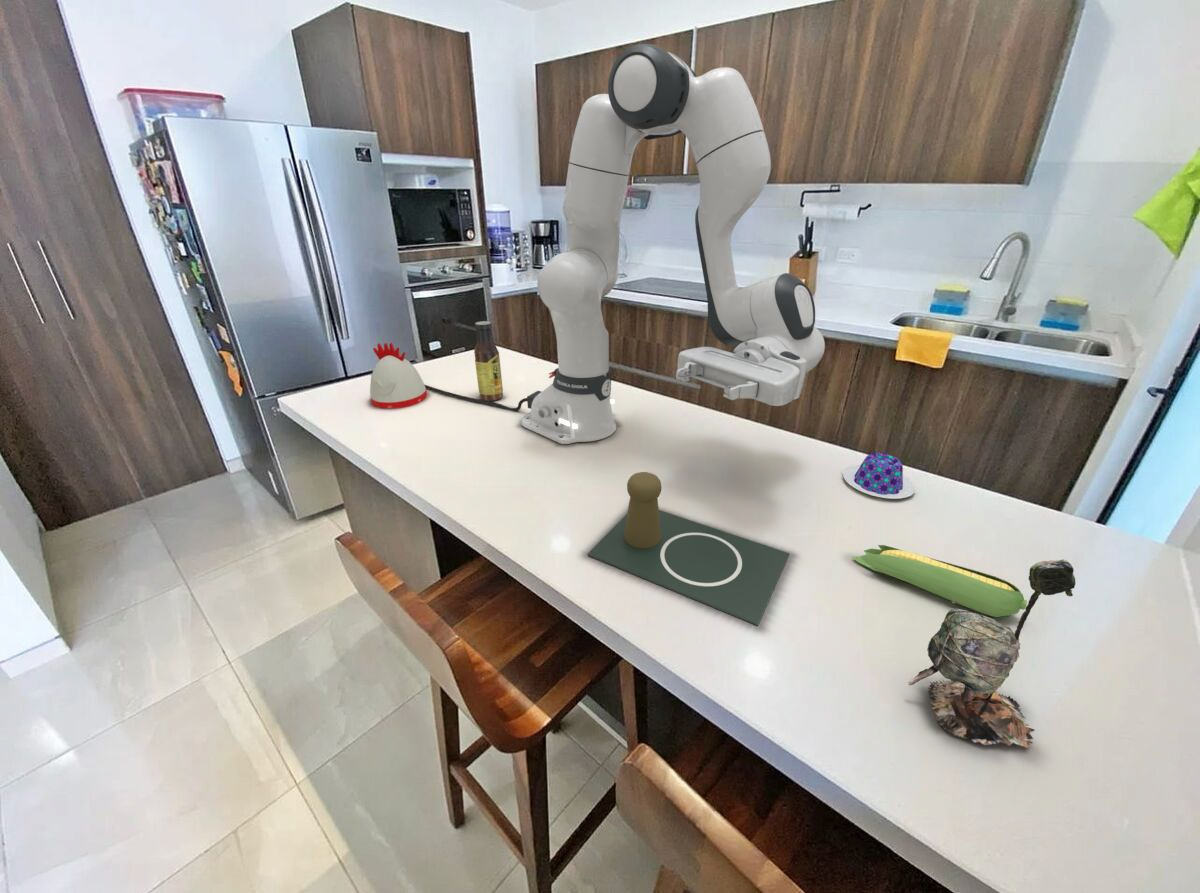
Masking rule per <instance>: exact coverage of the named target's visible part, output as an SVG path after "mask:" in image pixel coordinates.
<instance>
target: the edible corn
mask: <svg viewBox="0 0 1200 893" xmlns="http://www.w3.org/2000/svg"><path fill="white" fill-rule="evenodd" d="M877 546H878V549H877V548H868V549H865V550H863V552H864V554H862V555H859V556H851V558H852V559H853V560H854V561H856V562H857V563H859V564H861V565H863V566H864V567H867V568H868V569H871V570H873V571H875V572H876V573H881V574H882V575H886V576H889V577H891V578H894V579H897V580H899V581H901V582H905V583H907V584H910V585H912V586H913V587H916V588H918V589H921V590H923V591H926V592H928V593H930V594H933V595H936V596H938V597H940V598H942V599H944V600H947V601H949V602H952V601H956V602H955V603H954V604H956V605H958V606H961V607H964V608H967V609H969V610H972V611H974V612H977V613H979V614H981V615H984V616H987V617H988V616H989V617H990V618H991V617H992V618H1005V617H1010V616H1012V615H1013V616H1014V615H1016V614H1018V613H1019V612H1020V611H1021V610H1022V611H1025V610H1026V606H1027V605H1028V600H1027V599H1025V598H1024V594H1023V593H1022V592H1021V590H1020V589H1019V588H1018V587H1017V586H1016V585H1015V584H1012V583H1011V582H1009V581H1007V580H1005V579H1002V578H1000V577H998V576H994V575H991V574H987V573H984V572H982V571H978V570H975V569H971V568H967V567H964V566H960V565H957V564H953V563H949V562H947V561H944V560H943V561H942V560H939V559H935V558H931V557H929V556H924V555H921V554H917V553H914V552H911V551H906V550H902V549H899V548H896V547H892V546H889V545H885V544H877Z"/></svg>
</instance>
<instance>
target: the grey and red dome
mask: <svg viewBox="0 0 1200 893" xmlns="http://www.w3.org/2000/svg"><path fill="white" fill-rule="evenodd" d="M393 344H394V343H393V342H391V343H389V344H388V343H387V342H385V343H383V346H382V345H381V343H377V344H376V345H377V346H376V347H377V348H376V347H373V348H372V350H373V353H374V354H375V355H376V357H377V358H378V359H379V360H378V362H377V363H376V365H375V366H374V368H373V370H372V373H371V377H370V384H369V394H370V401H371V404H372V405H373V406H374V407H377V408H379V409H400V408H406V407H410V406H414V405H417V404H419V403H421V402H423V401H424V400H426V398H427V396H428V394H427V388H425V385H426V384H425V383H424V380H423V379H422V377H421V375H420V373H419V372H418V370H417V368H416V367H415V366H414V365H413V364H412V363H411V362H410V361H409V360H407V358H405V356H406V351H404V352H402V353H401V354H400V347H398V346H397V347H396V348H395V347H394V345H393ZM388 345H389V346H388Z"/></svg>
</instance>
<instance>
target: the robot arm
mask: <svg viewBox="0 0 1200 893" xmlns="http://www.w3.org/2000/svg"><path fill="white" fill-rule="evenodd" d="M608 76H609V77H608V82H607V93H599V94H595V95H593V96H590V97H589V98H587V99H586V100H585V102H584V103H583V104H582V107H581V109H580V113H579V115H578V118H577V121H576V125H575V129H574V133H573V137H572V141H571V148H570V153H569V159H568V166H567V174H566V182H565V189H564V197H563V204H562V212H563V215H564V218H565V223H566V235H567V238H566V239H567V242H566V243H567V246H566V250H565V251H563V252H560V253H557V254H555V255H554V256H553V257H551V258H550V259H549V260H548V261H547V262H546V264H545V265H544V266H543V267H542V268H541V270H540V272H539V273H538V276H537V284H536V285H537V292H538V296H539V297H540V299H541V301H542V303H543V304H544V305H545V306H546V307H547V308H548V311H549V313H550V317H551V320H552V323H553V324H552V325H553V328H554V332H555V337H556V348H557V350H556V351H557V361H558V362H557V366H558V367H556V368H555V369H554V370H553V371H551V372H549V373H548V375H549V376H548V378H549V379H552V378H553V377H554V378H553V381H552V383H551V384H550V385H549V386H547V387H546V388H544V389H543V390H542V391H541V390H536V391H534V392H532V393H531V394H529V395H528V396H526V397H524V398H522V399H520V400H519V402H518V405H517V406H516V407H509V406H507V405H504V404H501V403H499V402H494V401H485V400H482V399H480V398H474V397H470V396H465V395H461V394H457V393H452V392H449V391H445V390H442V389H439V388H436V387H434V386H430V385H427V384H424V385H425V388H426V390H431V391H433V392H436V393H440V394H443V395H447V396H450V397H452V398H453V397H454V398H457V399H461V400H466V401H470V402H474V403H479V404H484V405H490V406H493V407H498V408H501V409H504V410H507V411H511V412H518V411H520V410H521V408H522V405H523V403H525V402H527V403H526V404H527V409H530V412H529V413H527V414H526V415H525V416H524V417H523V418H522V420H521V427H523V428H525V429H528V430H529V431H531V432H534V433H536V434H539V435H540V436H543V437H545V438H546V439H550V440H552V441H554V442H555V443H558V444H561V445H569V444H574V443H581V442H583V443H584V442H585V443H586V442H595V441H599V440H603V439H606V438H608V437H610V436H612V435H613V434H614V433H615V432H616V430H617V424H616V421H615V418H614V412H613V408H612V405H613V404H615V399H611V393H612V392H611V391H612V370H611V367H610V335H609V331H608V329H607V328H606V326H605V325H606V324H605V321H604V317H603V312H602V299H603V298H604V297H606V296H607V295H609V293H611V291H612V290H613V289H614V287H615V285H616V283H617V281H618V278H619V276H620V275H619V274H620V266H619V257H620V256H619V254H620V231H621V222H622V216H623V209H624V204H625V198H626V193H627V189H628V188H627V187H628V183H629V179H630V178H629V177H630V172H631V166H632V161H633V157H634V153H635V150H636V147H637V145H638V144H639V142H640V141H641V140H642V139H645V140H647V141H649V140H656V139H662V138H668V137H673V136H677V135H680V134H681V133H683V134H684V136H685V137H686V139H687V141H688V143H689V146H690V148H691V153H692V154H693V158H694V162H695V166H696V169H697V172H698V180H699V203H698V205H697V208H696V210H695V215H694V216H695V217H694V224H695V233H696V234H695V235H696V240H697V247H698V252H699V258H700V265H701V269H702V275H703V280H704V287H705V293H706V300H707V324H708V328H709V330H710V332H711V335H713V337H715V339H717V341H719V342H720V343H722V344H723V345H725V346H727V347H730V348H734V349H733V351H732V352H731V351H727V350H724V349H721V348H717V347H714V346H700V347H693V348H689V349H684V350H681V351H680V352H679V353H678V357H677V364H676V365H677V368H676V369H677V370H676V372H675V380H676V381H678V382H681V383H686V382H689V381H691V378H693V379H695V380H698V381H701V382H704V383H706V384H710V385H712V386H716V387H718V388H721V389H723V395H722V396H723V398H725V399H728V400H730V401H735V400H737V399H752V400H755V401H758V402H760V403H763V404H766V405H769V406H773V407H781V406H785V405H787V404H789V403H791V402H792V401H794V400H797V399H799V398H800V397H801V394H802V390H803V387H804V384H805V379H806V374H807V373H809V372H810V371H812V370H813V369H814V368H816V366H817V365H818V364H819V363H820V361H821V360H822V358H823V357H824V354H825V351H826V350H825V349H826V342H825V339H824V336H823V334H822V333H821V331H820V330H819V329H818V328H817V327H816V326H815V324H816V305H815V300H814V297H813V294H812V291H811V290H810V288H809V287H808V286H807V285H806V283H805V282H804V281H802V279H801V278H799V277H797V276H796V275H794V274H792V273H788V272H785V273H782V274H779V275H775V276H772V277H768V278H765V279H762V280H760V281H759V282H755V283H752V284H750V285H746V286H743V287H739V286H738V284H737V280H736V272H735V266H734V261H733V254H732V248H731V247H732V246H731V241H732V240H731V239H732V234H733V231H734V229H735V228H736V226H737V224H738V222H739V221H740V219H741V218H742V217H743V215H744V214H746V212H747V211H748V210H749V209H750V208H751V207H752V206H753V204H754V203H756V201H757V200H758V199H759V198H760V196H761V194H762V193H763V191H764V189H765V188H766V185H767V183H768V180H769V179H770V178H769V177H770V175H771V170H772V159H771V152H770V147H769V144H768V140H767V136H766V133H765V129H764V126H763V123H762V119H761V115H760V113H759V110H758V108H757V105H756V102H755V100H754V97H753V95H752V93H751V91H750V89H749V87H748V85H747V83H746V81H745V79H744V76H743V75H742V74H741V73H740V72H739V71H738V70H737V69H735V68H733V67H729V66H725V67H717V68H714V69H711V70H708V71H707V72H705V73H703V74H702V75H699V76H697V74H696V73H695V71H694V70H693V69H692V67H690V66H689V65H688V64H687V63H686V62H685V61H684V60H683V59H681V58H680V57H679V55H676V54H675V53H673V52H670V51H667V50H665V49H664V48H662V47H661V46H658V45H656V44H652V43H639V44H634V45H632V46H630V47H628V48H626V49H624V50H623V52H621V53H620V55H618V57H617V58H616V59H615V61H614V63H613V65H612V67H611V70H610V72H609V75H608Z"/></svg>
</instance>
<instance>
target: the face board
mask: <svg viewBox="0 0 1200 893" xmlns="http://www.w3.org/2000/svg"><path fill="white" fill-rule="evenodd" d="M626 518H627V513H626V514H625V515H624V516H623V517H622V518H621V519H620V520H619V521H618V522H617V523H616V524H615V525H613V527H612V528H611V529H610V530H609V531H608V532H607V533H606V534H605V535H604V536H603V537H602V538H601V540H599V541H598V542H597V544H596V545H595V546H594V547H593V548H592V549H590V551H589V552H588V553H587V556H588V557H590V558H593V559H595V560H597V561H600V562H603V563H604V564H607V565H609V566H612V567H614V568H617V569H619V570H621V571H623V572H627V573H628V574H631V575H634V576H636V577H638V578H641V579H643V580H645V581H648V582H651V583H653V584H656V585H658V586H659V587H663V588H665V589H668V590H670V591H673V592H674V593H677V594H679V595H682V596H685V597H687V598H689V599H692V600H694V601H697V602H699V603H701V604H704V605H705V606H706V605H707V606H708V607H711V608H713V609H715V610H718V611H720V612H723V613H726V614H728V615H731V616H733V617H735V618H737V619H741V620H742V621H744V622H747V623H749V624H752V625H754V626H757V627H758V626H759V624H760V622H761V620H762V618H763V615H764V612H765V611H766V608H767V606H768V604H769V601H770V599H771V597H772V595H773V592H774V590H775V588H776V586H777V584H778V581H779V579H780V576H781V574H782V572H783V570H784V568H785V565H786V563H787V561H788V558H789V556H790V552H787V551H784V550H780V549H777V548H775V547H772V546H768V545H766V544H763V543H760V542H757V541H754V540H751V539H748V538H744V537H742V536H739V535H736V534H733V533H730V532H728V531H724V530H721V529H717V528H715V527H712V526H709V525H707V524H702V523H700V522H697V521H694V520H692V519H688V518H684V517H681V516H678V515H675V514H673V513H669V512H666V511H664V510H661V509H659V518H660V528H661V537H662V538H661V541H660V542H659V543H658V544H657V545H656V546H653V547H650V548H637V547H633V546H631V545H629V544H628V543H627V542H626V541H625V539H624V530H625V524H626Z"/></svg>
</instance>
